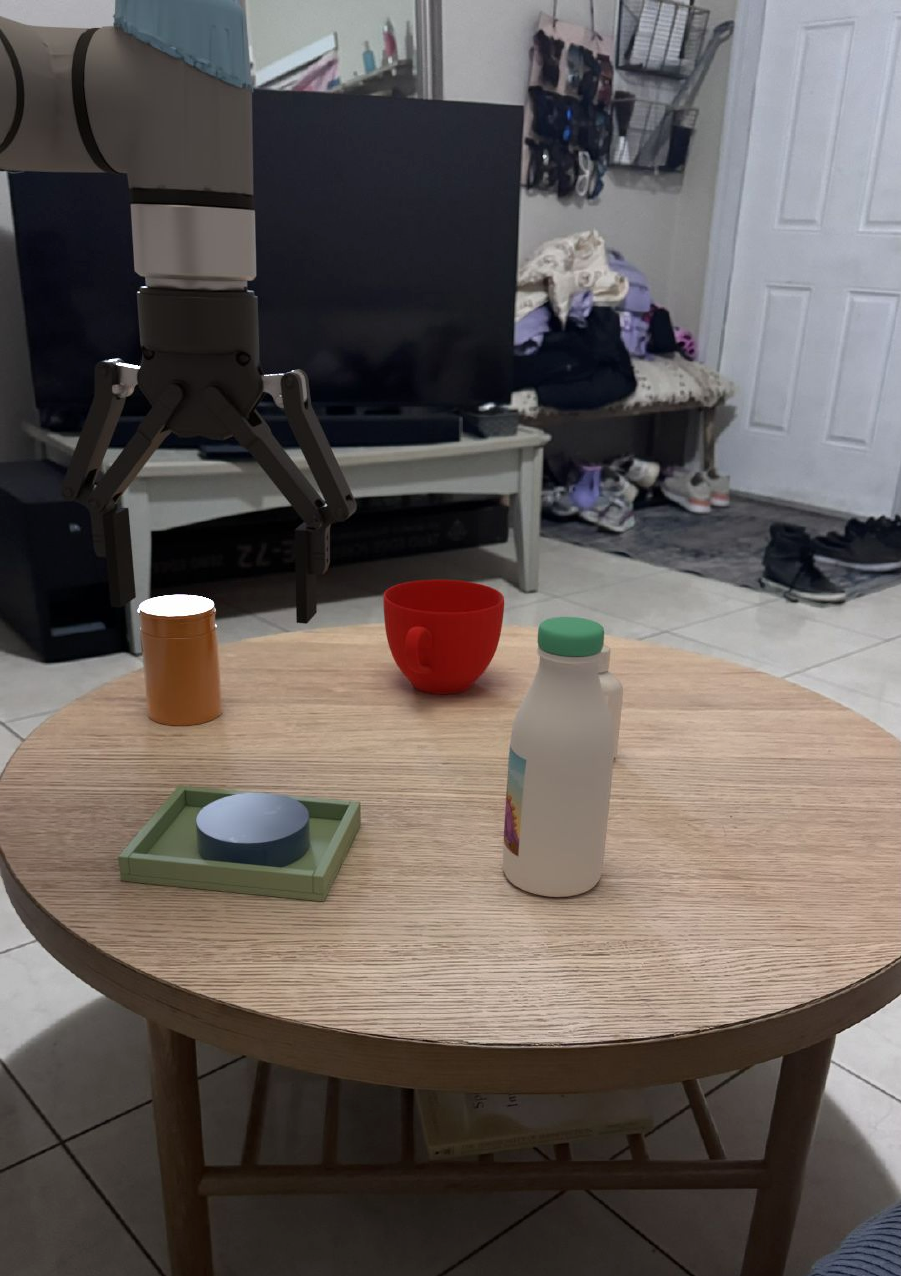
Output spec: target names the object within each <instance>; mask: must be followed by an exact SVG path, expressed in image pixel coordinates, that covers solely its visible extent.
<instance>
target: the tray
mask: <svg viewBox="0 0 901 1276" xmlns="http://www.w3.org/2000/svg"><path fill="white" fill-rule="evenodd" d="M244 793H259V791H258V792H257V791H245V790H235V789H223V788H213V787H201V786H191V785H180V784H179V785H177V787H176V788H175V789H174V790H173V791H172V793H171V794H170V795H169V796H168V797H167V798H166V799H165V801H164V802H163V803H162V805H160V806H159V808H158V809H157V810H156V811H155V813H154V814H153V815H152V816H151V817H150V818H149V819H148V821H147V822H146V823H145V824H144V825H143V827H142V828H141V829H140V830H139V831H138V832H137V833H136V835H135V836H134V837H133V838H132V839H131V841H130V842H129V843H128V844H127V845H126V846H125V848H124V849H123V850H122V851H121V852H120V854H118V856H117V861H118V869H119V877H120V878H119V880H120V881H121V882H127V883H128V882H129V883H138V884H147V885H148V884H149V885H158V886H168V887H177V888H188V889H196V890H197V889H199V890H205V891H206V890H207V891H216V892H217V891H218V892H227V893H236V894H246V895H247V894H248V895H255V896H266V897H267V896H268V897H276V898H285V899H295V900H305V901H313V902H314V901H315V902H325V900H326V898H327V896H328V894H329V892H330V889H331V888H332V886H333V884H334V881H335V880H336V877H337V875H338V873H339V871H340V868H341V867H342V865H343V862H344V860H345V859H346V857H347V854H348V852H349V850H350V847H351V846H352V844H353V842H354V839H355V837H356V835H357V833H358V831H359V828H360V826H361V823H362V819H361V817H362V813H361V812H362V810H361V807H362V806H361V804H362V803H361V801H355V800H345V799H334V798H324V797H323V798H322V797H311V796H302V795H291V794H290V795H289V794H282V795H283V796H287V797H290V798H293V799H295V800H297V801H299V802H300V803H302V804H303V805H304V806H305V807H306V808H307V810H308V812H309V824H310V846H309V849H308V851H307V852H306V854H305V855H304V856H303V857H301V858H300V859H299V860H297V861H295V862H294V863H292V864H289V865H287V866H284V867H281V868H280V867H270V866H260V865H250V864H240V863H230V862H220V861H210V860H204V859H203V858H202V857H201V856H200V854H199V852H198V843H197V831H196V817H197V815H198V813H199V812H200V811H201V809H202V808H204V807H205V806H206V805H208V804H210V803H211V802H214V801H216V800H218V799H221V798H224V797H228V796H232V795H237V794H244ZM279 795H281V794H280V793H279Z"/></svg>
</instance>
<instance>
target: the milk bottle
mask: <svg viewBox="0 0 901 1276" xmlns="http://www.w3.org/2000/svg"><path fill="white" fill-rule="evenodd" d="M604 641H605V629H604V626H603V625H601V624H600V623H599V622H597V621H595V620H592V619H588V618H584V617H579V616H578V617H577V616H557V617H550V618H547V619H545V620H542V621H541V622H540V623H539V626H538V630H537V649H536V654H537V655H538V656H539V660H538V661H539V662H538V667H537V670H536V672H535V676H534V678H533V681H532V682H531V685H530V686H529V689H528V691H527V693H526V694H525V696H524V697H523V699H522V701H521V702H520V705H519V707H518V710H517V712H516V714H515V716H514V717H515V718H514V720H513V724H512V729H511V734H510V743H509V750H508V751H509V752H508V761H507V762H508V764H507V775H506V776H507V777H506V793H505V806H504V807H505V809H504V826H503V839H502V840H503V842H502V871H503V872H504V875H505V877H506V879H507V880H508V881H509V882H510V883H512V885H514V886H515V887H516V888H519V889H520V890H522V891H525V892H528V893H530V894H535V895H537V896H544V897H551V898H552V897H555V898H561V897H572V896H578V895H581V894H584V893H586V892H588V891H590V890H592V889H593V888H594V887H595V886H596V885H597V883H598V882H599V881H600V880H601V878H602V873H603V867H604V861H605V850H606V841H607V832H608V821H609V814H610V812H609V811H610V803H611V792H612V791H611V790H612V782H613V770H614V759H615V758H614V728H613V722H612V717H611V714H610V711H609V708H608V705H607V702H606V700H605V697H604V694H603V691H602V688H601V684H600V679H599V673H598V660H600V659H601V658H602V648H603V643H604V644H605V642H604ZM613 758H614V759H613Z"/></svg>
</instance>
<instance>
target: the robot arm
mask: <svg viewBox="0 0 901 1276" xmlns="http://www.w3.org/2000/svg"><path fill="white" fill-rule="evenodd" d="M112 18H113V25H106V26H105V25H104V26H101V27H91V28H84V27H65V26H62V27H61V26H59V27H58V26H41V25H40V26H39V25H30V24H25V23H22V22H18V21H16V20H13V19H10V18H8V17H4V16H0V172H7V173H10V174H22V173H25V172H41V173H42V172H45V173H46V172H47V173H106V174H110V175H126V177H127V183H128V191H129V203H131V204H130V215H131V234H132V248H133V249H132V250H133V266H134V272H135V273H136V274H137V275H138V276H140V277H144V279H145V285H144V286H140V287H139V291H137V292H136V300H137V301H136V302H137V315H138V326H139V329H138V331H139V341H140V347H141V353H142V355H141V356H142V358H141V362H140V365H139V366H138V365H134V364H129V363H126V362H125V361H124V360H123V359H122V358H112V359H105V360H102V361H99V362H97V363H96V364H95V366H94V394H93V395H94V397H93V398H92V402H91V405H90V407H89V409H88V413H87V416H86V418H85V421H84V423H83V426H82V429H81V432H80V435H79V437H78V440H77V443H76V445H75V447H74V451H73V454H72V456H71V459H70V462H69V465H68V467H67V470H66V472H65V475H64V478H63V481H62V482H61V483H62V484H61V486H60V490H59V491H60V496H61V497H62V499H63V500H65V501H66V502H75V503H78V504H80V505H81V506H84V507H85V508H86V509H87V510H88V512H89V515H90V523H91V534H92V543H93V551H94V553H95V555H96V557H97V558H106V559H105V560H106V568H107V580H108V590H109V600H110V608H120V609H121V608H123V607H125V606H126V605H127V604H128V603H130V602H132V601H133V600H135V599H136V598H137V594H136V583H135V570H134V557H133V546H132V545H133V544H132V536H131V535H132V534H131V521H130V510H129V507H123V506H117V507H116V505H117V504H119V503H120V502H121V501H120V498H121V497H122V496H123V494H124V493H125V492H126V491H127V489H128V488H129V486H130V485H131V484H132V482H134V480H135V479H136V477H137V476H138V475H139V474H140V472H141V470H142V469H143V468H144V467H145V465H146V464H147V463H148V461H149V460H150V459H151V458H152V456H153V455H154V453H155V452H156V451H157V450H158V448H159V447H160V445H162V443H163V442H164V441H165V439H166V438H167V437H168V436H169V435H170V434H171V433H173V434H175V435H176V436H177V438H182V439H184V438H185V439H190V438H195V437H200V436H201V437H202V438H205V439H206V438H207V439H208V440H211V441H213V440H214V441H225V440H227V439H229V438H232V437H234V438H235V440H236V441H237V442H238V444H239V445H240V446H241V447H242V448H243V449H245V450H247V451H248V452H249V453H250V455H251V456H252V458H253V459H254V461H256V463H257V464H258V465H259V466H260V468H261V469H262V470H263V471H264V473H265V474H266V475H267V476H268V477H269V479H270V480H271V481H272V483H273V484H274V485H275V487H276V488H277V490H279V492H280V493H281V494H282V496H283V497H284V499H286V500H287V502H288V503H289V504H290V506H291V507H292V508H293V509H294V511H295V512H296V513H297V515H298V516H299V517H300V519H301V520H302V521H303V522H302V523H301V524H300V525H299V526H297V527H296V528H295V529H294V552H295V553H294V558H295V559H294V562H295V563H294V564H295V566H294V567H295V608H296V609H295V616H296V617H295V619H296V621H295V622H296V623H297V624H305V625H306V624H309V622H310V621H311V620H312V619H313V617H315V615H316V614H317V611H318V610H317V609H318V608H317V575H321V576H323V575H324V574H325V573H326V572H327V571H328V569H329V566H330V564H331V526H332V525H333V524H336V523H342V522H345V521H347V520H348V519H349V518H350V517H351V516H352V515H353V514H354V513H355V512H356V511H357V507H358V504H357V502H356V498H355V496H354V495H353V493H352V492H353V491H352V490H351V488H350V486H349V484H348V481H347V479H346V478H345V475H344V473H343V471H342V469H341V467H340V464H339V462H338V460H337V459H336V456H335V454H334V451H333V449H332V447H331V445H330V443H329V440H328V438H327V436H326V433H325V432H324V429H323V427H322V425H321V423H320V420H319V419H318V416H317V414H316V412H315V410H314V408H313V406H312V399H311V392H310V382H309V376H308V374H307V373H306V372H305V370H303V369H300V368H298V369H294V370H291V371H289V372H286V373H285V372H284V373H273V374H265V372H264V371H263V367H262V365H261V362H260V331H259V330H260V328H259V327H260V326H259V302H258V301H259V300H258V299H259V298H258V296H257V295H255V291H254V290H249V289H248V282H250V281H254V280H255V279H256V277H257V245H256V239H257V238H256V210H255V197H254V149H253V148H254V144H253V143H254V142H253V141H254V140H253V139H254V138H253V93H254V82H253V81H252V76H251V75H252V73H251V63H250V49H249V40H248V39H249V38H248V25H247V17H246V14H245V11H244V9H243V6H242V5H241V4H240V2H239V1H238V0H115V1H114V14H113V15H112ZM136 386H138V387H139V389H140V391H141V392H142V393H143V395H144V397H145V398H146V399H147V401H148V402H149V403H150V405H151V406H152V407H151V408H150V409H149V411H148V412H147V414H146V415H145V416H144V417H143V419H142V420H141V422H139V424H138V426H137V429H136V432H135V433H134V434H133V436H132V437H131V438H130V440H129V441H128V442H127V444H126V445H125V446H124V448H123V449H122V450H121V452H120V453H119V454H118V456H117V457H116V458H115V460H114V461H113V463H112V464H111V465H110V467H109V468H108V469H107V471H106V472H105V473H104V475H103V476H102V477H101V479H100V480H99V481H98V483H97V484H95V482H96V480H97V478H98V475H99V472H100V469H101V467H102V465H103V461H104V459H105V457H106V454H107V452H108V449H109V446H110V444H111V440H112V438H113V436H114V432H115V430H116V427H117V425H118V422H119V420H120V418H121V415H122V411H123V410H124V407H125V403H126V399H127V397H130V396H132V395H133V393H134V391H135V387H136ZM266 394H269V395H270V396H271V397H272V399H273V401H274V403H275V405H276V406H277V407H278V408H280V409H283V411H284V414H285V417H286V420H287V423H288V425H289V427H290V430H291V431H292V433H293V437H294V438H295V440H296V442H297V444H298V446H299V448H300V450H301V452H302V455H303V457H304V459H305V461H306V463H307V465H308V468H309V469H310V472H311V475H312V476H313V479H314V481H315V483H316V485H317V487H318V489H319V490H320V493H321V495H322V497H323V498H322V497H321V495H320V494H319V493H318V492H317V490H316V489H315V488H314V486H313V485H312V484H311V482H310V481H309V480H308V479H307V477H306V476H305V474H304V473H303V472H302V471H301V470H300V468H299V467H298V466H297V464H296V463H295V462H294V461H293V459H292V458H291V456H290V455H289V454H288V453H287V452H286V450H285V449H284V447H282V445H281V444H280V442H279V441H278V440H277V439H276V437H275V436H274V435H273V434H272V430H271V427H270V426H269V424H267V422H266V421H265V419H264V418H263V417H262V415H261V414H260V413H259V412H258V410H257V407H258V406H259V404H260V403H261V402H262V400H263V398H264V397H265V395H266Z"/></svg>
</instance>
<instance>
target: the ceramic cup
mask: <svg viewBox="0 0 901 1276" xmlns="http://www.w3.org/2000/svg"><path fill="white" fill-rule="evenodd" d="M382 601H383V602H382V603H383V604H382V605H383V620H384V628H385V634H386V639H387V644H388V647H389V651H390V652H391V655H392V658H393V660H394V663H395V664H396V666H397V667H398V669H399V670H400V672H401V673H402V674H403V675H404V676H405V677H406V679H407V680H408V681H409V682H411V685H412V686H413V687H414V688H415V689H417V690H419V691H422V692H425V693H429V694H436V695H451V694H458V693H462V692H465V691H467V690H469V689H471V687H472V686H473V684H475V682H476V681H477V680H478V679H480V677H481V676H482V675H483V674H484V673H485V671H486V670H487V669H488V667H489V665H490V664H491V662H492V660H493V658H494V656H495V654H496V652H497V649H498V646H499V643H500V639H501V633H502V628H503V621H504V613H505V597H504V595H503V594H502V592H501V591H499V590H497V589H496V588H493V587H491V586H489V585H485V584H483V583H482V584H481V583H477V582H472V581H465V580H453V579H423V580H413V581H407V582H402V583H398V584H396V585H393V586H390V587H389V588H387V589H386V590H385V591H384V592H383V599H382Z"/></svg>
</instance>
